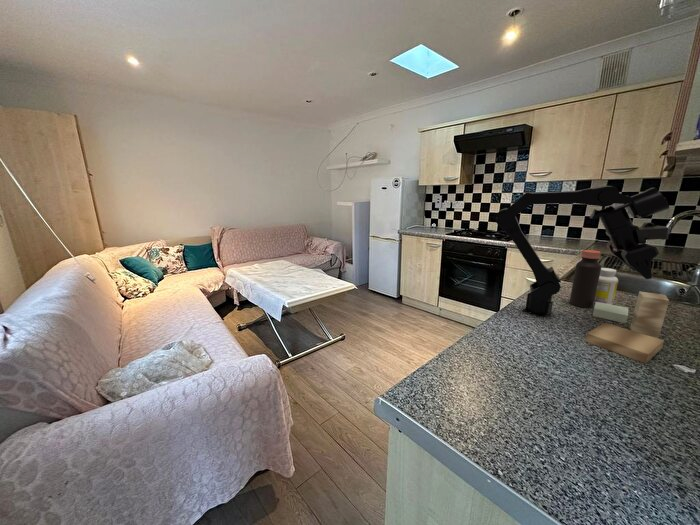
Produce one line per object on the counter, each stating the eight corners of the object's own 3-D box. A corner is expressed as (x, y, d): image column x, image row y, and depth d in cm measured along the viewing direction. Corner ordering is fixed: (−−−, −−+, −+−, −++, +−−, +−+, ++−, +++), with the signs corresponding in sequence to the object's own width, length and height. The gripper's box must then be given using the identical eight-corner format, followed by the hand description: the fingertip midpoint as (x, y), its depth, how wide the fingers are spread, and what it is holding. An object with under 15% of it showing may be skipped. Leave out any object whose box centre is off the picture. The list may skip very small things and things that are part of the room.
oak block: (584, 343, 76) (586, 333, 75) (602, 331, 82) (605, 322, 81) (645, 365, 66) (648, 354, 65) (661, 350, 72) (664, 340, 71)
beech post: (632, 335, 78) (642, 296, 76) (629, 328, 82) (639, 291, 79) (657, 341, 75) (669, 300, 72) (653, 333, 79) (664, 294, 76)
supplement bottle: (603, 299, 104) (610, 267, 101) (618, 306, 98) (626, 272, 95) (584, 299, 105) (590, 266, 102) (597, 306, 99) (605, 271, 95)
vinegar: (574, 307, 98) (584, 252, 93) (565, 300, 104) (575, 248, 99) (597, 309, 96) (609, 253, 91) (587, 301, 102) (598, 249, 97)
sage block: (592, 317, 91) (593, 308, 90) (594, 309, 97) (596, 301, 96) (625, 324, 86) (627, 315, 85) (626, 316, 91) (628, 307, 90)
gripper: (673, 215, 67) (701, 273, 67) (642, 210, 83) (665, 257, 82) (615, 235, 73) (640, 287, 73) (596, 226, 89) (618, 270, 89)
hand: (642, 274), depth 79 cm, fingers open, 9 cm apart
